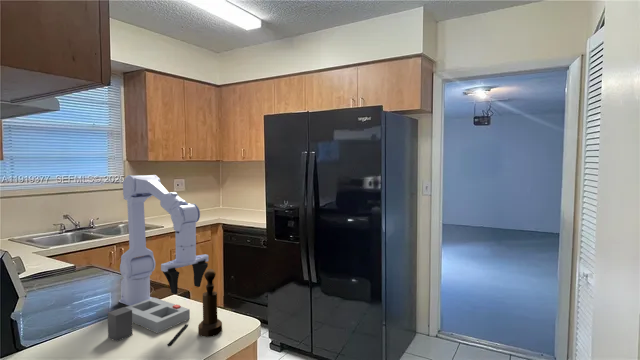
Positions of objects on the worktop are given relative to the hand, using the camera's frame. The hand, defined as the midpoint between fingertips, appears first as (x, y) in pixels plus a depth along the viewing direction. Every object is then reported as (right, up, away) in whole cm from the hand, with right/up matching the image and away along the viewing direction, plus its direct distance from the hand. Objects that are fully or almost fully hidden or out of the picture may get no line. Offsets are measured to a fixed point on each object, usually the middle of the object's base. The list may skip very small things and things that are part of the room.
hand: (186, 289), depth 107 cm
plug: (-15, -10, -8) cm, 20 cm away
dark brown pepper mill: (+9, -11, -6) cm, 15 cm away
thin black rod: (+1, -11, -8) cm, 13 cm away
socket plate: (-10, -10, +3) cm, 15 cm away
